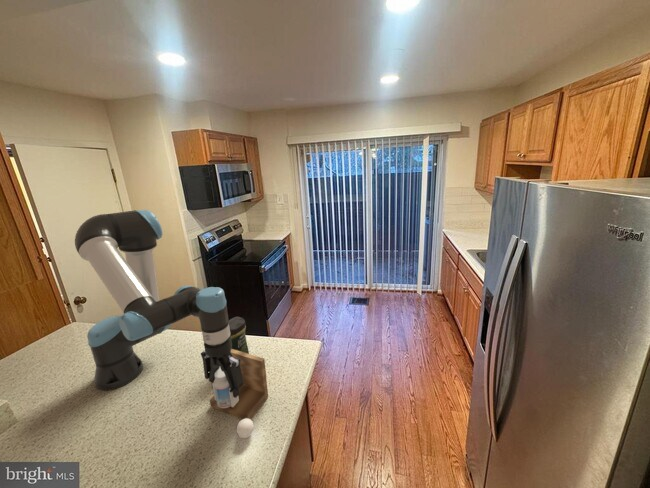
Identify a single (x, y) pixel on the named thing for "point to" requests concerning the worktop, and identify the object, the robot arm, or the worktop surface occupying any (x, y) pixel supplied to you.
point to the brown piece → (248, 387)
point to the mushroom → (245, 428)
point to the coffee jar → (238, 334)
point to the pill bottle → (222, 389)
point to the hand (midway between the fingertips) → (226, 400)
